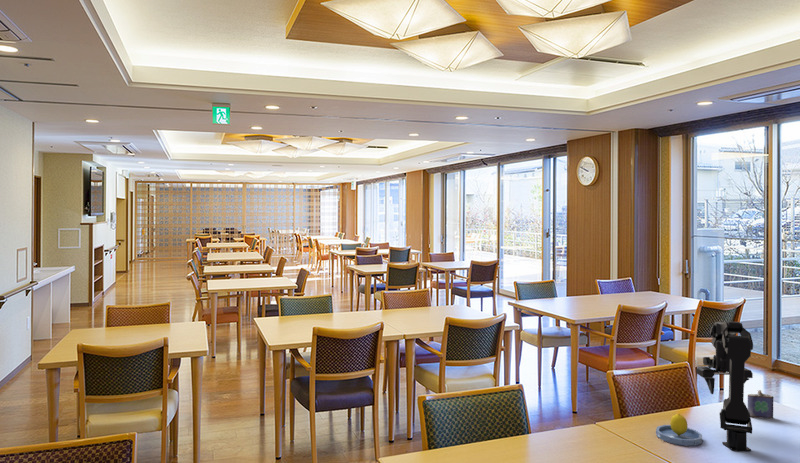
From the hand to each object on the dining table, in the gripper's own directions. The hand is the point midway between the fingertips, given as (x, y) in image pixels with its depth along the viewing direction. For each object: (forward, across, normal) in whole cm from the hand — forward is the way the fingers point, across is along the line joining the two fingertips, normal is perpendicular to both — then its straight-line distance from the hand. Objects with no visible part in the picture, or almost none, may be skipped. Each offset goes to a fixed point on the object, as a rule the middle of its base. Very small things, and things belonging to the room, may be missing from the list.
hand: (724, 394), depth 206 cm
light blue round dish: (+12, +24, +14) cm, 30 cm away
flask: (+12, -20, -10) cm, 25 cm away
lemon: (+11, +24, +14) cm, 30 cm away
